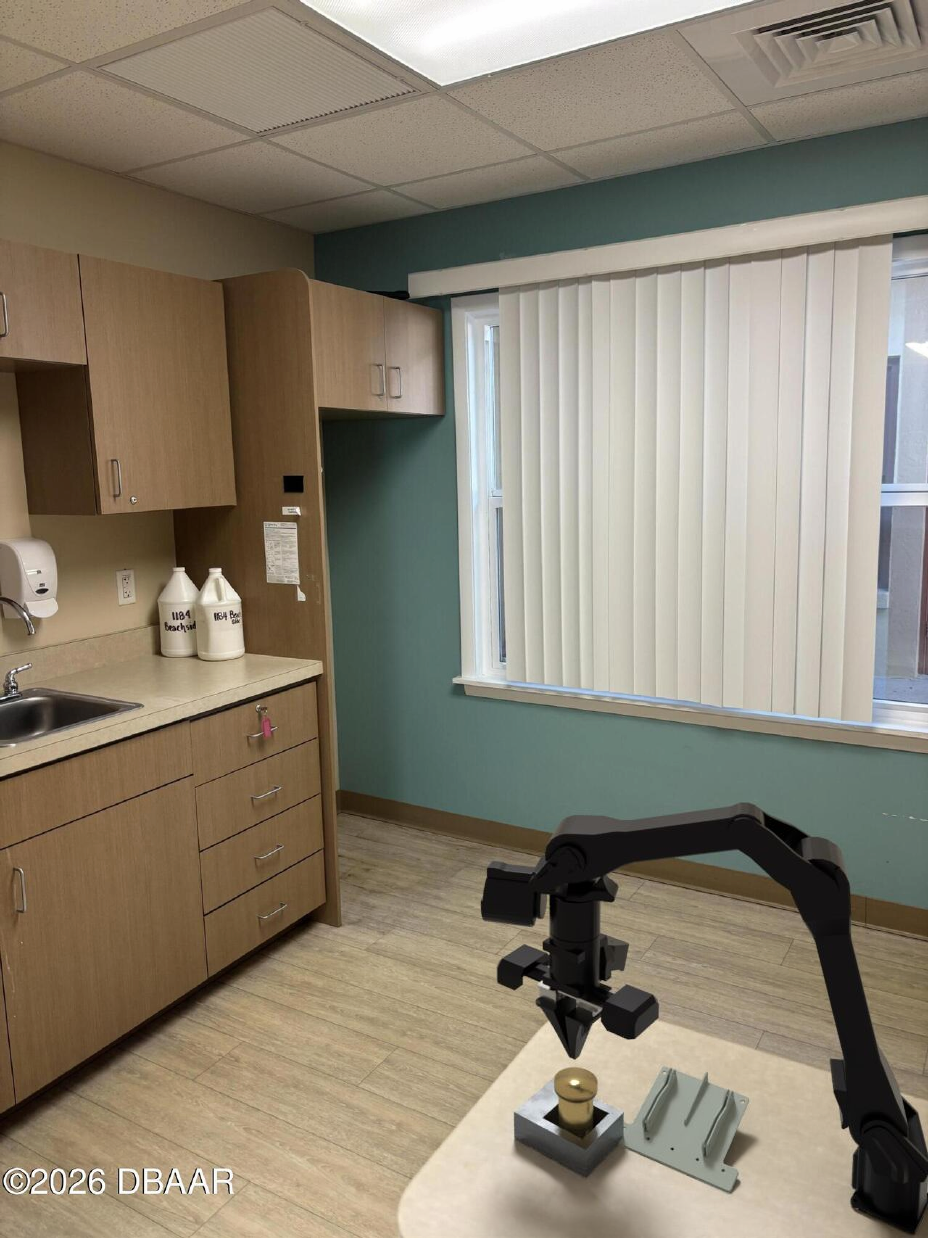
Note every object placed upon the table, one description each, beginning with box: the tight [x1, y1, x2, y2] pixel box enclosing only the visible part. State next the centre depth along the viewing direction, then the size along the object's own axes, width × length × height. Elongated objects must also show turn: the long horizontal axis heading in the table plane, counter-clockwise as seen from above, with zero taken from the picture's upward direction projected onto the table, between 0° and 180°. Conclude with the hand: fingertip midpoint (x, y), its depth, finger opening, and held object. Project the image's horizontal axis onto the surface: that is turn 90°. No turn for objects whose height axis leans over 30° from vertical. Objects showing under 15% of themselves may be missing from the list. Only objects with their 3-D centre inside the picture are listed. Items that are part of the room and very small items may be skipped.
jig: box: [513, 1077, 625, 1179], centre depth 111 cm, size 10×8×4 cm
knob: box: [553, 1066, 599, 1139], centre depth 110 cm, size 5×5×8 cm
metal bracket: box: [617, 1066, 750, 1194], centre depth 111 cm, size 14×6×15 cm
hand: (574, 1057), depth 109 cm, fingers closed
